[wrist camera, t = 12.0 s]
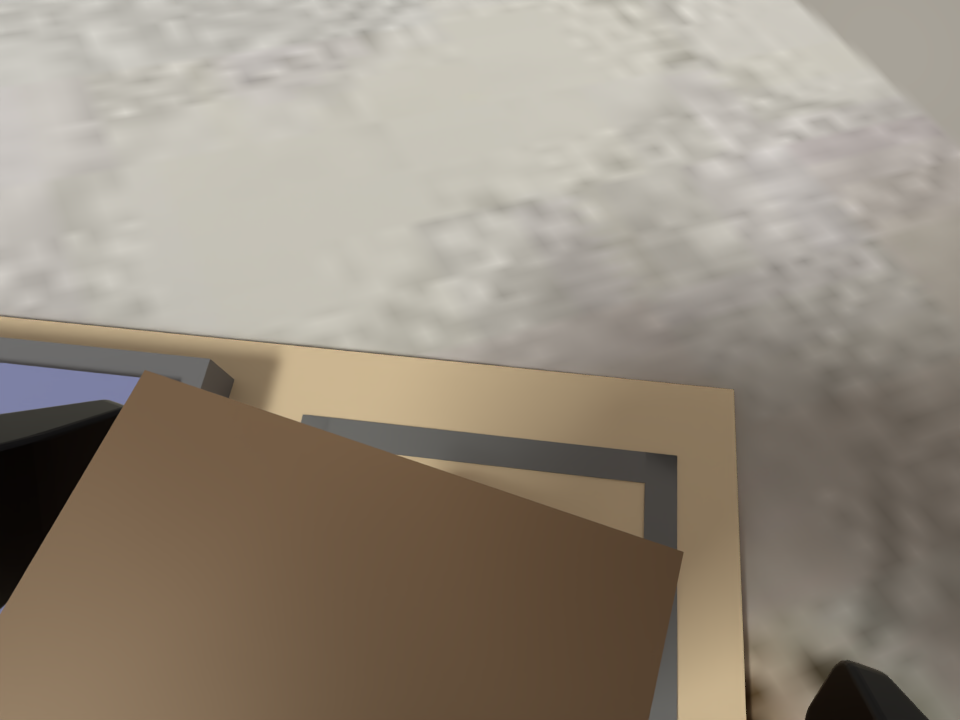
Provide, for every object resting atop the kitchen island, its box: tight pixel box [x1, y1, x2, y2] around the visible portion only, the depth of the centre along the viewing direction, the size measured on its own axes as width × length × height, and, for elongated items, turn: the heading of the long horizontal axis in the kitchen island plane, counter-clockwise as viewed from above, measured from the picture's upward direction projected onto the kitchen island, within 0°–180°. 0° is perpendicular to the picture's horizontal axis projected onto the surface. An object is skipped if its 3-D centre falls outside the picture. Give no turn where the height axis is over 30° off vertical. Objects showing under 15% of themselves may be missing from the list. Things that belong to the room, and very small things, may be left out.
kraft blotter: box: [0, 316, 746, 720], centre depth 14 cm, size 16×26×1 cm, turn 83°
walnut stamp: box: [0, 370, 684, 720], centre depth 9 cm, size 6×6×12 cm
